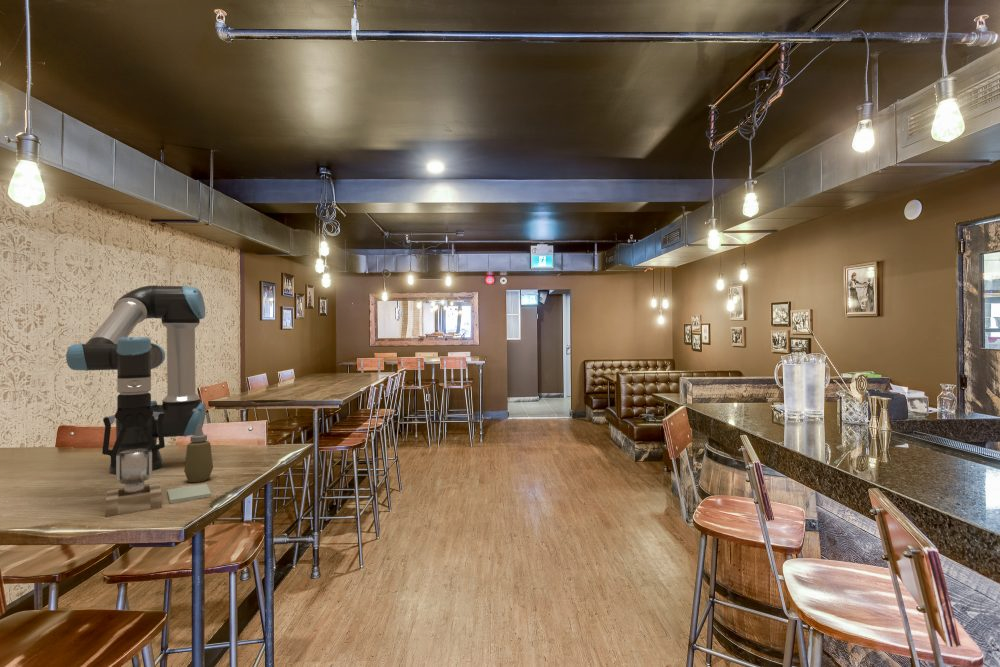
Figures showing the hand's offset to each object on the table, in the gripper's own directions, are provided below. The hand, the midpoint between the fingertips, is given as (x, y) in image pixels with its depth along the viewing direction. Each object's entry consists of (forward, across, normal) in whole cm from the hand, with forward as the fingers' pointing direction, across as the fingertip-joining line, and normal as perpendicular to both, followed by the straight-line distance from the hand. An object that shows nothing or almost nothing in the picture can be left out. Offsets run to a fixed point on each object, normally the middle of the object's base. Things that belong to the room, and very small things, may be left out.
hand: (134, 476), depth 138 cm
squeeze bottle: (+8, +17, +18) cm, 26 cm away
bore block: (+8, 0, 0) cm, 8 cm away
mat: (+8, +13, +2) cm, 15 cm away
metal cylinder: (+6, 0, 0) cm, 6 cm away
